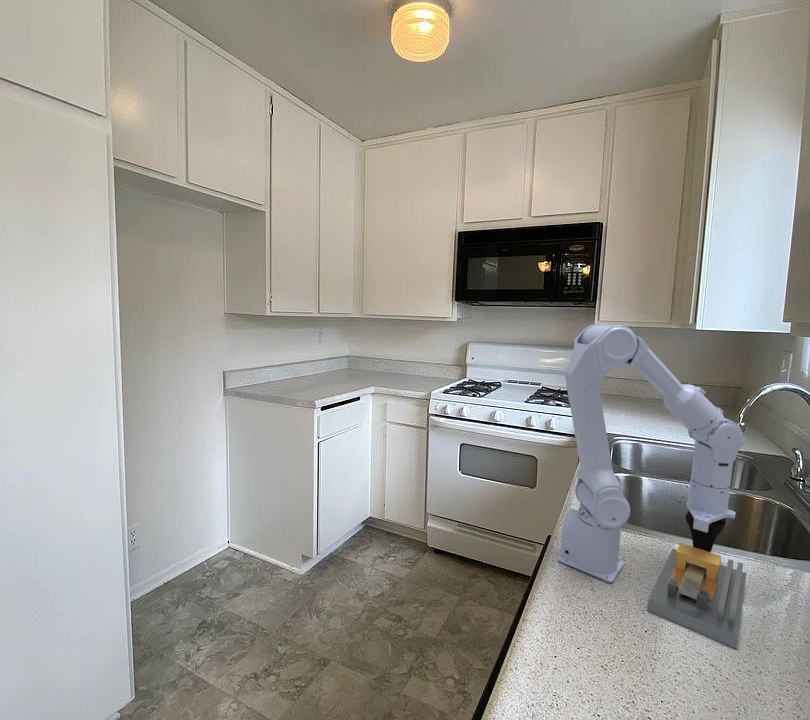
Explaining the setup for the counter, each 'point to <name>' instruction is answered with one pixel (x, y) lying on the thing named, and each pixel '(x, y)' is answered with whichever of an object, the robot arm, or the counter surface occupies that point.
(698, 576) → the strap
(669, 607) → the grey fixture base plate
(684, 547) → the clip
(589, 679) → the counter surface
